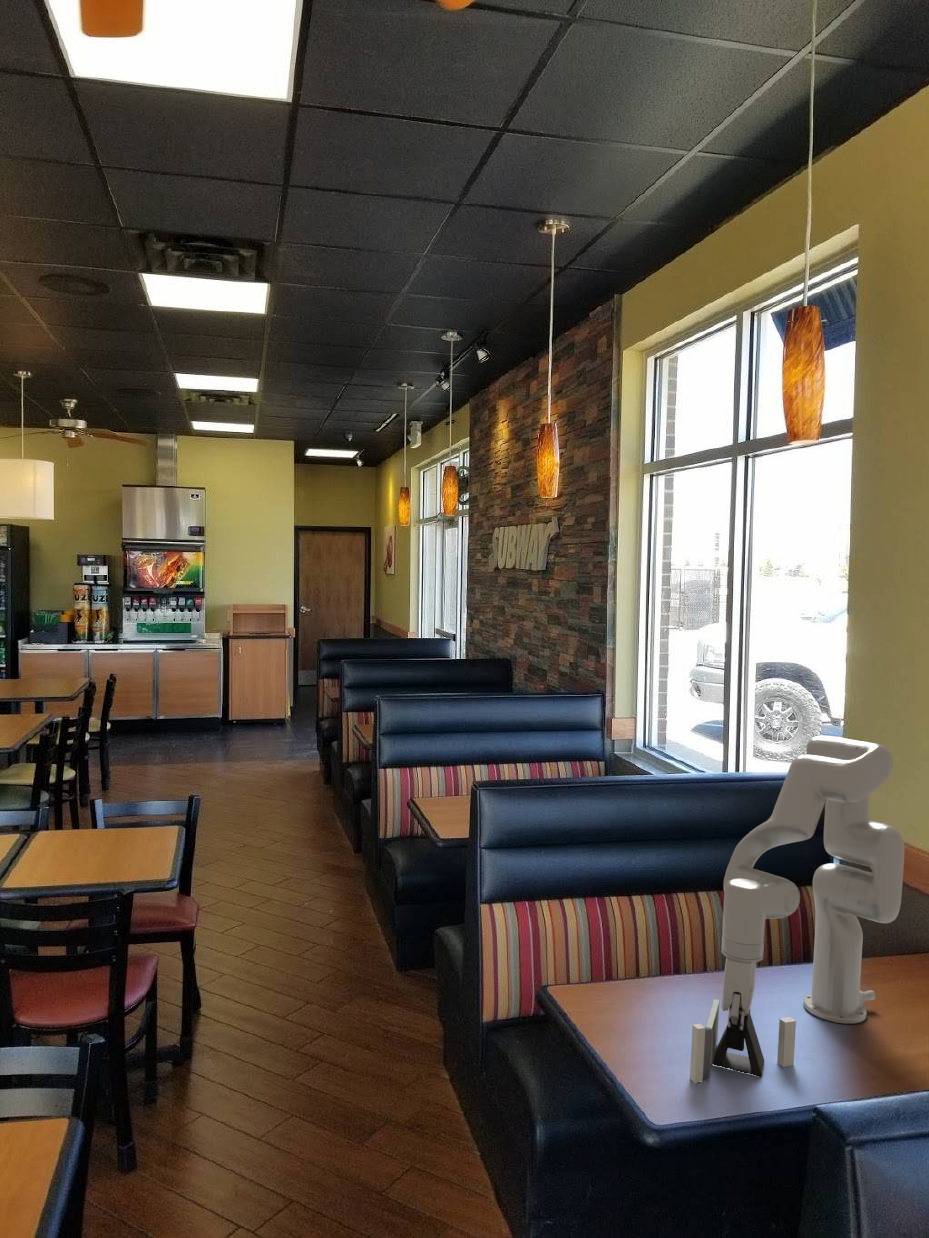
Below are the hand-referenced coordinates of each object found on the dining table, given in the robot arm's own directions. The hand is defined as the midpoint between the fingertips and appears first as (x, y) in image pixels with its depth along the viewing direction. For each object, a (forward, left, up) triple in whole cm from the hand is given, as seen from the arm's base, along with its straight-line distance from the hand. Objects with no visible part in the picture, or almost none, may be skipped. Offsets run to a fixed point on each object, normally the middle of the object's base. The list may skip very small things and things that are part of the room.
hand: (737, 1037), depth 168 cm
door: (+4, -3, -5) cm, 7 cm away
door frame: (+1, +3, -5) cm, 6 cm away
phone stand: (0, 0, -5) cm, 5 cm away
